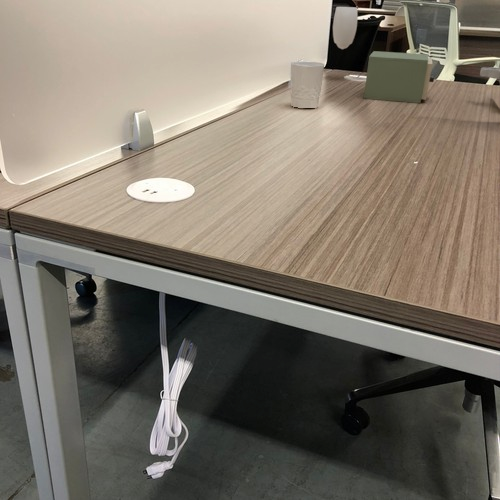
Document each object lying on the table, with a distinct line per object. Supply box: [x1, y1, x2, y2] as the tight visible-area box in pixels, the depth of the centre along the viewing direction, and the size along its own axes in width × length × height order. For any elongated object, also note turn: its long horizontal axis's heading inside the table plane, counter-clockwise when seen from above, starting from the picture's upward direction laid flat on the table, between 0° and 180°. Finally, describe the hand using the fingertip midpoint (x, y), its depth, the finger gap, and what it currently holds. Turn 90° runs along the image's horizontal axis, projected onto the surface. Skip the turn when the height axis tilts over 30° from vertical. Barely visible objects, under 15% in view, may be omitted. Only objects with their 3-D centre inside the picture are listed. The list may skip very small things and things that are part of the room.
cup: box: [332, 6, 359, 50], centre depth 157 cm, size 7×7×21 cm
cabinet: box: [363, 50, 429, 104], centre depth 136 cm, size 15×13×11 cm
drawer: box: [421, 57, 435, 101], centre depth 135 cm, size 15×11×9 cm
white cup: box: [289, 60, 325, 109], centre depth 122 cm, size 8×8×10 cm
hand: (480, 71), depth 129 cm, fingers closed
